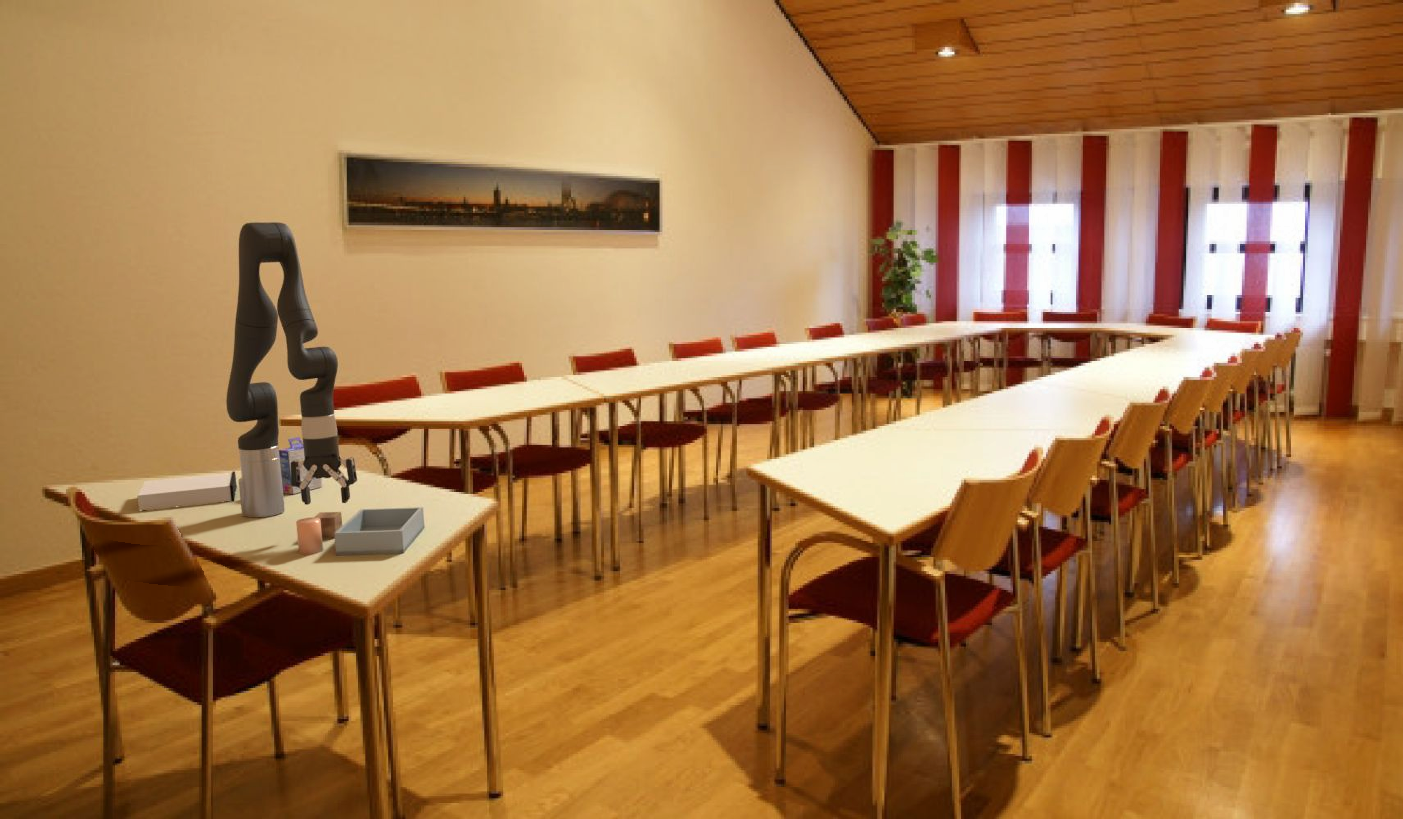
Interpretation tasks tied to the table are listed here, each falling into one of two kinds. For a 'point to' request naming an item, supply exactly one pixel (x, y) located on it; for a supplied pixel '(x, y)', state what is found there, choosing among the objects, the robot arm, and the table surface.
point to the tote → (379, 531)
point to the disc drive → (187, 491)
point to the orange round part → (309, 536)
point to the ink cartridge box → (285, 463)
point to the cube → (329, 523)
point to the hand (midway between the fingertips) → (326, 503)
